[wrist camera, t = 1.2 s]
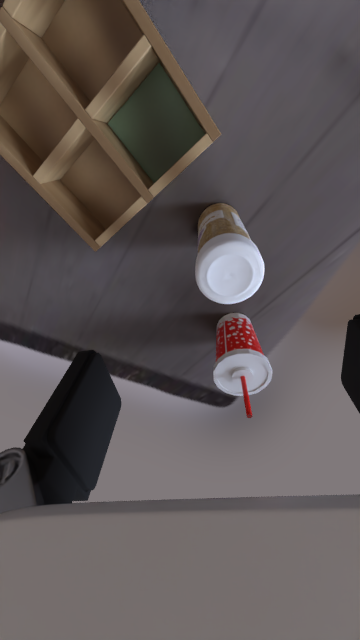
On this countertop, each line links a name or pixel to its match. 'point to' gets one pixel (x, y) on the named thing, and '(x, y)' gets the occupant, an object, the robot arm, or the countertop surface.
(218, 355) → the beverage cup
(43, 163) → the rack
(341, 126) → the countertop surface
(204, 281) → the sprinkles bottle
